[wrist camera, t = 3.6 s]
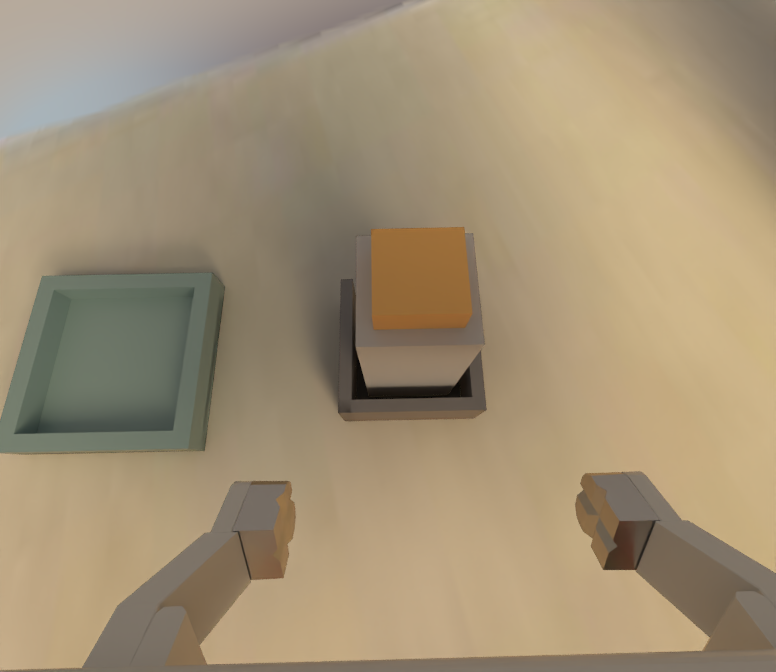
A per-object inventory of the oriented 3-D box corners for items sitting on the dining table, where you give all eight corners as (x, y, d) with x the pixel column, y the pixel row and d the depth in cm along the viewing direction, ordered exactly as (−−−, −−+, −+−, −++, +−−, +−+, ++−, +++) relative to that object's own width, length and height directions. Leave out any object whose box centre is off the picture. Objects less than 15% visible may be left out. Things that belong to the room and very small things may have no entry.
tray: (224, 286, 28) (212, 272, 26) (204, 450, 24) (188, 448, 22) (66, 290, 28) (42, 275, 26) (23, 454, 24) (-10, 452, 22)
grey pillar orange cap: (442, 321, 27) (480, 211, 16) (447, 395, 25) (494, 331, 14) (368, 322, 27) (353, 214, 16) (369, 396, 25) (351, 334, 14)
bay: (463, 300, 28) (473, 276, 24) (473, 418, 25) (486, 409, 22) (346, 302, 27) (341, 279, 24) (345, 421, 25) (338, 412, 22)
